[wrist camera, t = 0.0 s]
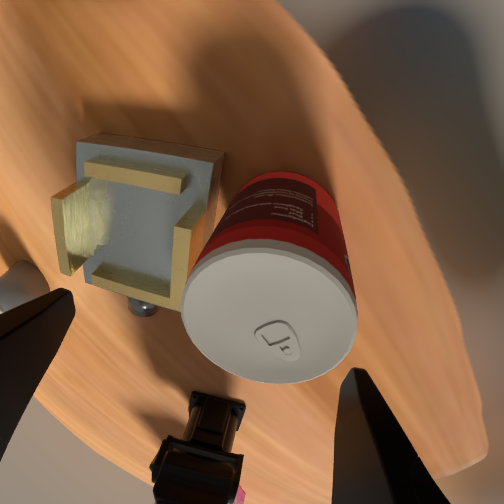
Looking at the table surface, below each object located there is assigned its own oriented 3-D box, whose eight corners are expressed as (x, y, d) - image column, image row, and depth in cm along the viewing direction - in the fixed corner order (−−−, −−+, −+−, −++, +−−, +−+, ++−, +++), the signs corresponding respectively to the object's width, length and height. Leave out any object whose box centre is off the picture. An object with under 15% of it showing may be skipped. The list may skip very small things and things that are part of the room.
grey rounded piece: (54, 309, 33) (25, 345, 27) (21, 294, 33) (-9, 325, 27) (45, 268, 30) (9, 303, 24) (10, 254, 30) (-25, 284, 24)
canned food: (289, 286, 26) (275, 403, 16) (209, 222, 24) (148, 320, 14) (363, 223, 22) (396, 331, 12) (278, 144, 20) (252, 204, 11)
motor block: (202, 310, 28) (181, 360, 23) (103, 281, 29) (70, 321, 23) (225, 152, 21) (197, 177, 16) (99, 133, 21) (48, 153, 16)
